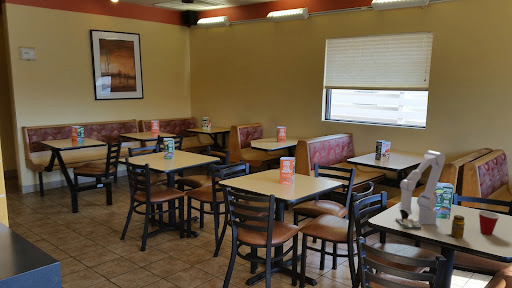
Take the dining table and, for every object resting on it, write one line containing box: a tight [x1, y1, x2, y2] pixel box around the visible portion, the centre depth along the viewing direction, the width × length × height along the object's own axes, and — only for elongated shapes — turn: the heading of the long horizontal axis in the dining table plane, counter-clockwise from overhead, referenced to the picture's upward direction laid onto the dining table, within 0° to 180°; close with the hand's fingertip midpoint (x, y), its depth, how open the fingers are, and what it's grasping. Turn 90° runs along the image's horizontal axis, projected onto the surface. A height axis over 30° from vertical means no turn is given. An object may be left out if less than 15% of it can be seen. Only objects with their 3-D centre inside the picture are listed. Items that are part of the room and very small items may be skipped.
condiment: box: [444, 214, 467, 240], centre depth 219 cm, size 7×8×12 cm
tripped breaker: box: [403, 219, 409, 225], centre depth 232 cm, size 2×3×3 cm, turn 0°
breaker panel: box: [395, 217, 422, 230], centre depth 237 cm, size 10×14×2 cm
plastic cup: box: [478, 210, 501, 236], centre depth 225 cm, size 11×11×12 cm
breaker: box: [411, 218, 418, 225], centre depth 232 cm, size 2×3×3 cm, turn 0°
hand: (404, 221), depth 235 cm, fingers closed
